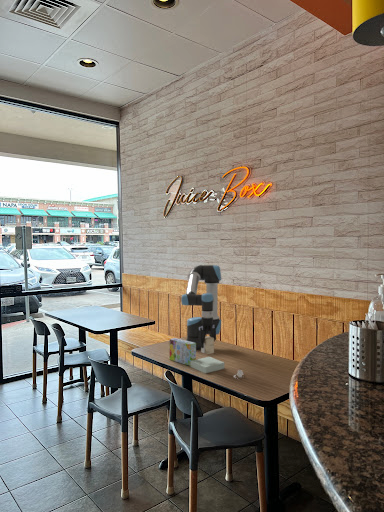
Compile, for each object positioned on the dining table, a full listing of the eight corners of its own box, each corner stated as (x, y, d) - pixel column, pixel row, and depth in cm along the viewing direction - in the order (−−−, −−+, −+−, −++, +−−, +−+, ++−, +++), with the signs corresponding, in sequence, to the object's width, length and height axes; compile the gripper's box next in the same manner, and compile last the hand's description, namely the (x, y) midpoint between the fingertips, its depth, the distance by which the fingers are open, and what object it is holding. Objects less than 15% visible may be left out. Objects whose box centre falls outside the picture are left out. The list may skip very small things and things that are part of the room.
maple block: (201, 352, 261) (201, 337, 261) (208, 350, 265) (208, 335, 264) (206, 354, 256) (206, 339, 256) (213, 352, 260) (213, 337, 259)
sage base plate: (190, 366, 263) (190, 360, 263) (209, 362, 272) (209, 356, 272) (205, 373, 250) (205, 367, 250) (224, 368, 259) (224, 362, 259)
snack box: (196, 364, 268) (196, 342, 267) (190, 366, 264) (190, 344, 263) (174, 358, 282) (174, 337, 281) (168, 359, 278) (168, 338, 277)
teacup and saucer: (238, 373, 250) (238, 367, 250) (249, 376, 245) (249, 370, 245) (230, 377, 244) (230, 371, 243) (241, 380, 238) (241, 374, 238)
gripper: (199, 319, 251) (199, 355, 252) (222, 316, 262) (222, 350, 263) (192, 317, 257) (192, 352, 258) (214, 314, 268) (214, 348, 269)
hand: (207, 351), depth 260 cm, fingers closed on maple block, 6 cm apart
